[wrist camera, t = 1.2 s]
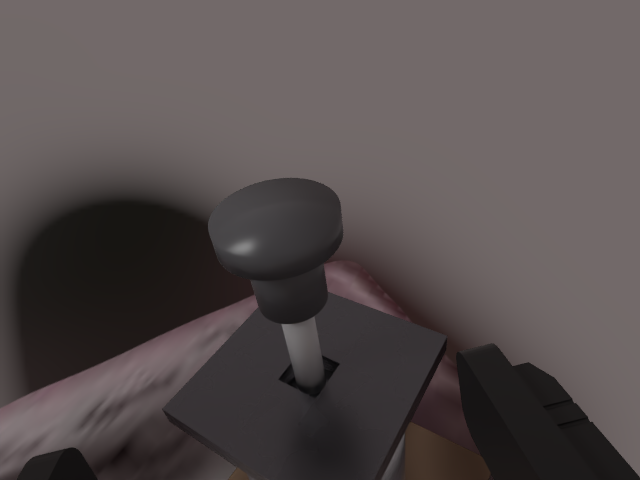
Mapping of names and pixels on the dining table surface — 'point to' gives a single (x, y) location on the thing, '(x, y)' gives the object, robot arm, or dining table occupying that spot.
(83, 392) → the dining table surface
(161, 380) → the dining table surface
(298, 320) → the plunger
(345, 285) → the dining table surface
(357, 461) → the press
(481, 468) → the board
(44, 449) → the dining table surface
